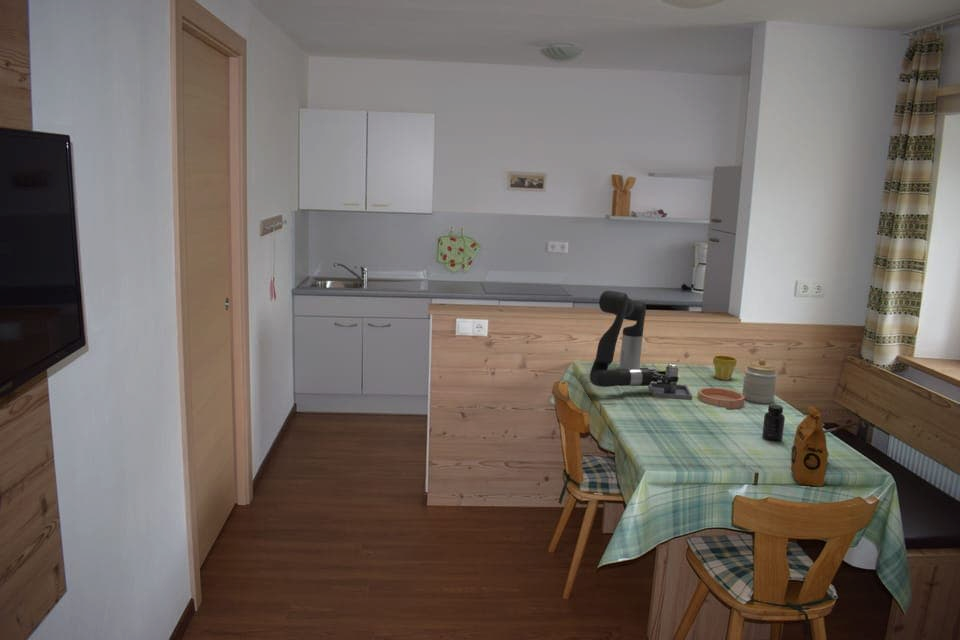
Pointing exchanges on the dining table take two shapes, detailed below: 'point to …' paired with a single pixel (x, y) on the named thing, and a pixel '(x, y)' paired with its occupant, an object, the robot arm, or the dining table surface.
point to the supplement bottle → (773, 423)
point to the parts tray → (658, 391)
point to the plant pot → (724, 366)
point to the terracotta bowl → (721, 397)
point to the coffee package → (810, 451)
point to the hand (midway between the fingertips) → (672, 376)
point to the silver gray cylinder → (670, 371)
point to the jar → (759, 382)
